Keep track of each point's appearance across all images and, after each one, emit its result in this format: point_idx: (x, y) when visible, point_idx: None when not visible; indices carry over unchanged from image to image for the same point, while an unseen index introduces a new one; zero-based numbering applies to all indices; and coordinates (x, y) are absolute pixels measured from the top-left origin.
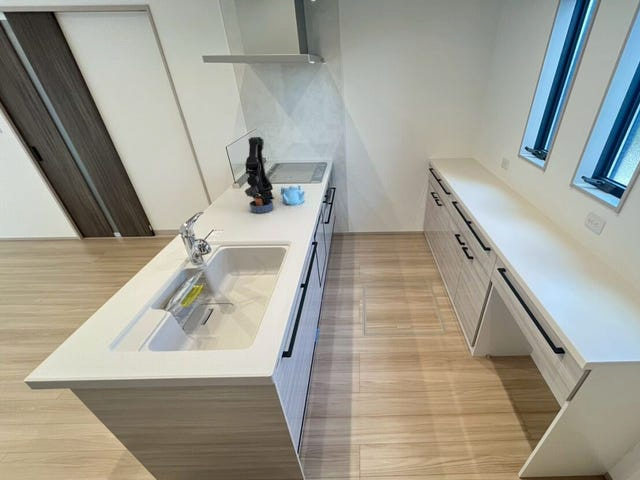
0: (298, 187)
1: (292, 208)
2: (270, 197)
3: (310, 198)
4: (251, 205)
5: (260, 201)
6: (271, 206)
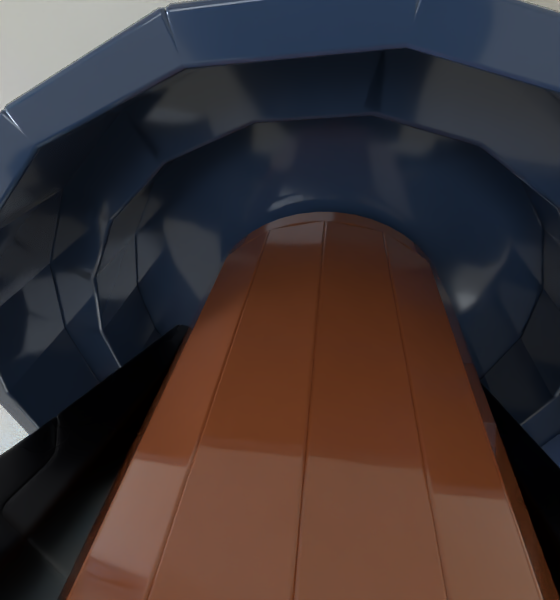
0: None
1: (3, 422)
2: None
3: None
4: (531, 45)
5: (134, 452)
6: (87, 378)
